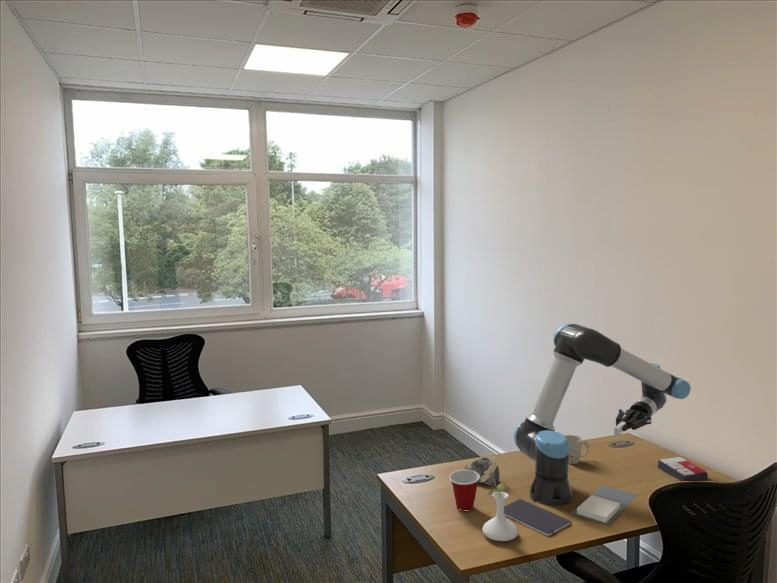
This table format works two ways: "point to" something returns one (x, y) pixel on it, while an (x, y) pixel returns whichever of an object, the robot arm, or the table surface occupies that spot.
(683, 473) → the calculator
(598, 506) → the tile
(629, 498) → the mat
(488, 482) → the mineral rock
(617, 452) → the table surface
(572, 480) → the table surface
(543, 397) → the robot arm
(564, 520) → the notebook
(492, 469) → the flower in vase
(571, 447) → the mug
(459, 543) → the table surface
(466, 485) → the plastic cup
